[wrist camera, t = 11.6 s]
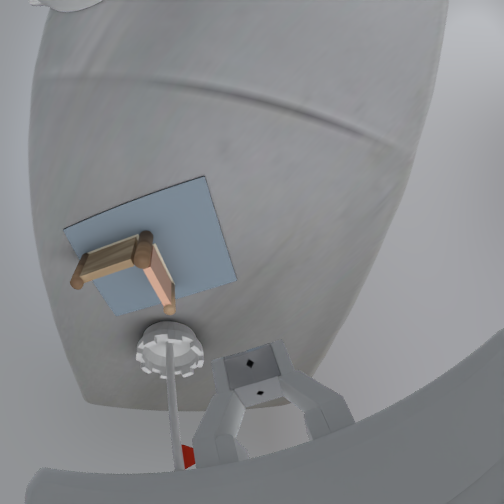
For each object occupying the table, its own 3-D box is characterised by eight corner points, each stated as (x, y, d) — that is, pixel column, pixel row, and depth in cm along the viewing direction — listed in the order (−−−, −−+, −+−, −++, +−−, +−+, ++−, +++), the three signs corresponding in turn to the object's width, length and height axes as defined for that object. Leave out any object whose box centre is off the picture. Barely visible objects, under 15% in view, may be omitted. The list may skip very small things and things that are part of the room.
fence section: (155, 245, 41) (152, 267, 36) (176, 288, 46) (177, 313, 41) (144, 248, 40) (140, 271, 36) (166, 291, 45) (166, 316, 41)
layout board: (63, 229, 36) (62, 230, 36) (204, 176, 38) (204, 176, 37) (116, 315, 47) (116, 316, 47) (236, 279, 48) (237, 280, 48)
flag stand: (148, 361, 56) (155, 492, 31) (128, 321, 48) (122, 478, 24) (205, 354, 58) (231, 487, 33) (195, 312, 51) (220, 474, 26)
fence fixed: (79, 254, 39) (67, 279, 33) (150, 228, 40) (145, 252, 34) (85, 265, 40) (75, 291, 34) (155, 240, 41) (152, 265, 35)
